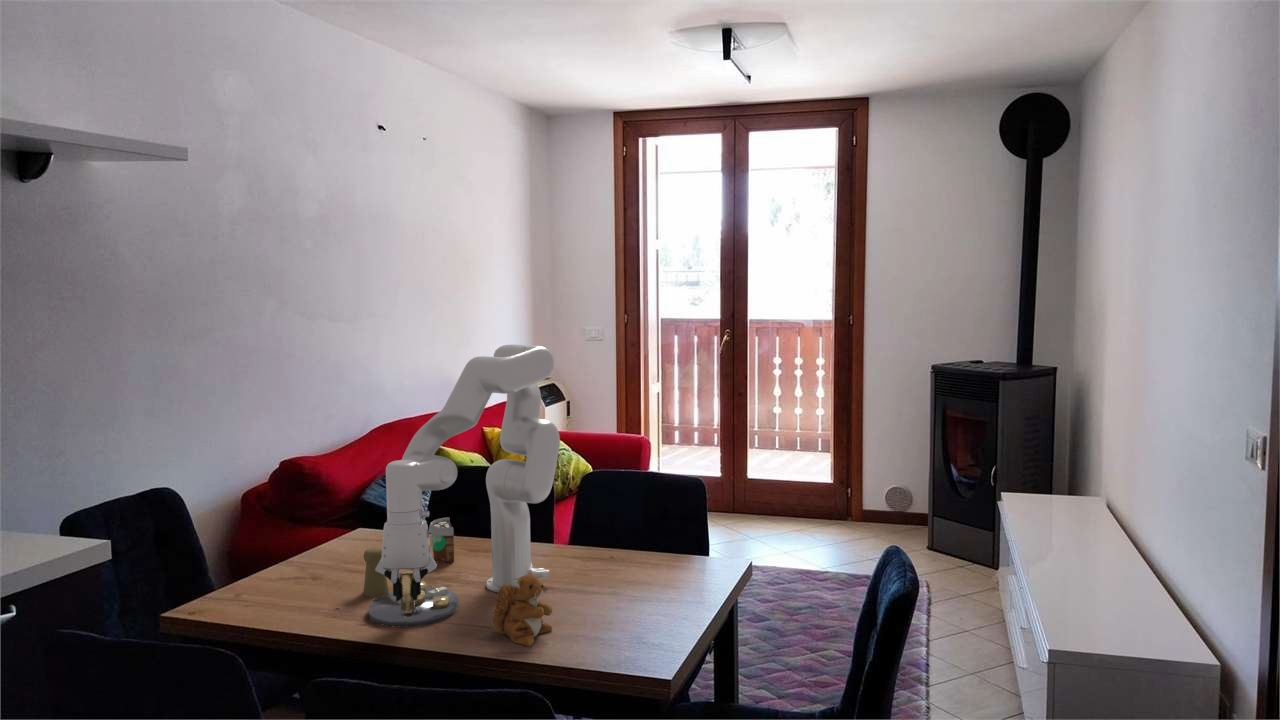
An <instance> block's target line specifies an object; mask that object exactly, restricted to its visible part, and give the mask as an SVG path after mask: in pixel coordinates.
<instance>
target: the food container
mask: <svg viewBox="0 0 1280 720" xmlns="http://www.w3.org/2000/svg"><path fill="white" fill-rule="evenodd" d="M428 532H429V534H431V535H430V536H431V543H432V544H431V545H432V554H433V559H434V561H435V562H436V561H438V562H437V563H440V562H448V563H447V564H450V563H449V562H454V563H455V543H454V542H455V540H454V539H455V538H454V536H455V533H454V532H455V531H454V527H453V526H452V523H451V522H450V517H442V518H437V519H434V520H433V521H431V522H430V524H429V527H428Z"/></svg>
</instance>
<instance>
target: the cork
mask: <svg viewBox="0 0 1280 720" xmlns="http://www.w3.org/2000/svg"><path fill="white" fill-rule="evenodd" d="M381 557H382V546H380V547H379V546H378V547H377V546H374V547H373V546H372V547H369V548H366V549H365V551H364V553H363V560H364V561H365V574H364V583H363V584H364V585H363V596H365V597H370V598H371V597H379V596H381V595H384V594H386V593H389V591H390V589H389V583H388V578H387V577H386V576H385V575H384V574H381V573H379V572H377V571H376V570H375V569H376V567H377V565H378V563H379V561H380V559H381Z"/></svg>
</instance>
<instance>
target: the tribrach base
mask: <svg viewBox="0 0 1280 720" xmlns="http://www.w3.org/2000/svg"><path fill="white" fill-rule="evenodd" d="M421 590H423V591H424V592H425V602H423V603H421V604H418V605H415V608H414V609H413V610H412V612H411V613H403V611H402V610H401V602H400V600H399V601H396V596H393V591H391V592H388V593H386V594H384V595H381V596H376V597H375V598H374V599H372V601H370V602H369V604H368V617H369V619H370V621H372V622H373V621H374V622H373V623H375V622H376V623H375V624H377V623H378V624H377V625H380V624H383V625H382V626H385V625H388V626H387V627H392V626H400V627H399V628H409V627H410V626H411V627H419V625H420V626H426V625H429V624H434V623H437V622H441V621H442V620H446V619H448V618H450V617H451V616H453V615H454V614H455V613H457V611H458V609H459V596H458V595H457V594H456V592H454V591H452V590H449V589H448V587H445V586H440V587H430V586H429V587H428V586H427V584H426V581H424V580H421ZM406 626H407V627H406Z"/></svg>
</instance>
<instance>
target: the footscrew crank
mask: <svg viewBox="0 0 1280 720" xmlns="http://www.w3.org/2000/svg"><path fill="white" fill-rule="evenodd" d="M399 578H400V602H401V610H402V611H403V613H411V612H412V610H413V609H414V608H415V605H418V604H421V603H423V602H425V592H424V591H423V590H421V595H418V598H417V600H413V582H414V578H415V576H414V571H412V570H405V571H401V572H399Z"/></svg>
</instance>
